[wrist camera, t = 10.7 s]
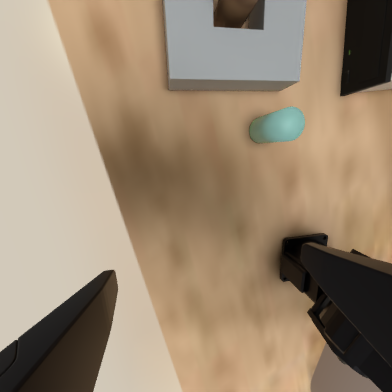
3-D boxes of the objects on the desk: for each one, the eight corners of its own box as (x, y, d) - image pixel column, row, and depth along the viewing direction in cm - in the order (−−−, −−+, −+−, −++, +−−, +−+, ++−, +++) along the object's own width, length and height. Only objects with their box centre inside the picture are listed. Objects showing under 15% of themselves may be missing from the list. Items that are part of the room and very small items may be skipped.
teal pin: (273, 116, 21) (306, 106, 16) (271, 142, 21) (303, 140, 16) (249, 117, 20) (276, 106, 15) (248, 143, 21) (274, 141, 16)
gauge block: (289, -53, 17) (314, -94, 14) (279, 90, 20) (299, 81, 17) (157, -72, 15) (156, -124, 12) (168, 90, 18) (169, 78, 15)
